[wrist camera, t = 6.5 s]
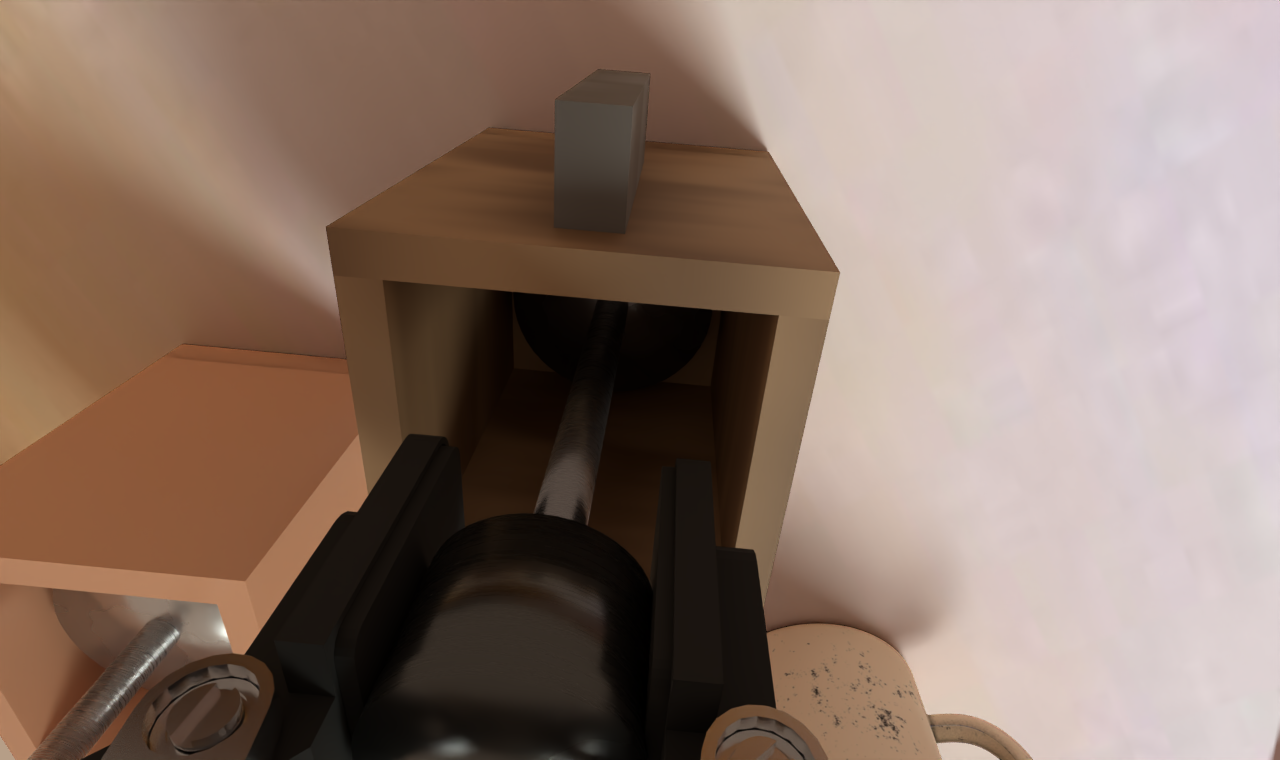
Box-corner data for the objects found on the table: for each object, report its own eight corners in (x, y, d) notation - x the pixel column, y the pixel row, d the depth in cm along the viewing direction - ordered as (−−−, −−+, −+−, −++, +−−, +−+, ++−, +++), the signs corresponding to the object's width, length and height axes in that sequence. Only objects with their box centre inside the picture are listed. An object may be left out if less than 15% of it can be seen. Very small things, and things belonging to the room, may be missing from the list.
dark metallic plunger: (724, 206, 18) (807, 618, 6) (700, 386, 21) (722, 924, 9) (517, 188, 18) (174, 557, 6) (520, 370, 21) (290, 878, 9)
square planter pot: (411, 364, 23) (244, 581, 14) (433, 576, 28) (319, 834, 19) (182, 344, 23) (-121, 546, 15) (243, 558, 28) (45, 806, 19)
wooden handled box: (497, 373, 23) (383, 595, 14) (486, 50, 18) (303, 87, 9) (730, 394, 23) (757, 631, 14) (781, 74, 18) (871, 136, 9)
